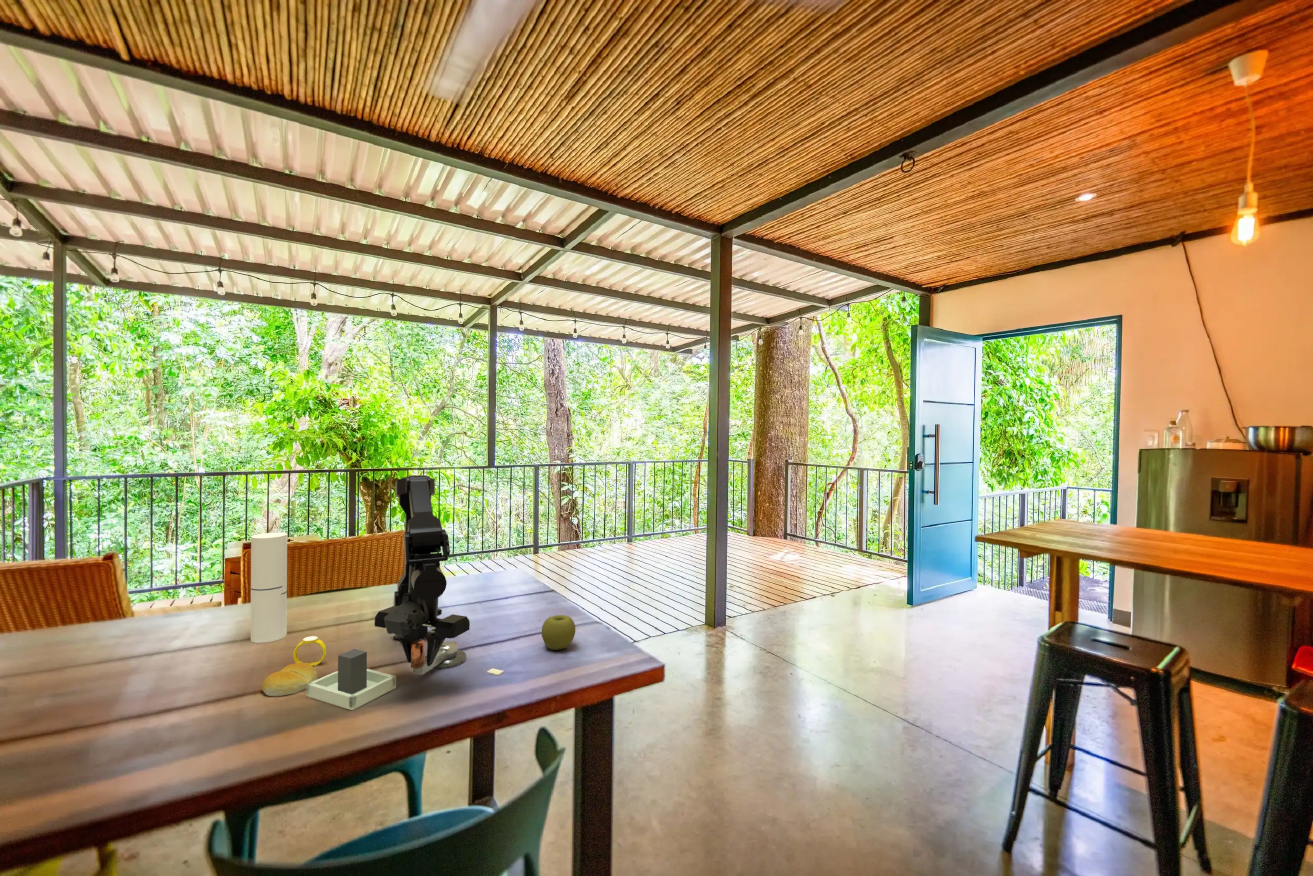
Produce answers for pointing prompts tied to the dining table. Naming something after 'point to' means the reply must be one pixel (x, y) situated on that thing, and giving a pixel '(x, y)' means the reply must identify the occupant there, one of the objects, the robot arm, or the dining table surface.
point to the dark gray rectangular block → (352, 671)
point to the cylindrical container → (268, 587)
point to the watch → (308, 641)
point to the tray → (329, 693)
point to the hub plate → (452, 661)
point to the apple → (558, 632)
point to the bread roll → (289, 679)
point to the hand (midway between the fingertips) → (420, 663)
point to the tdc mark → (495, 671)
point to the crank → (419, 659)
